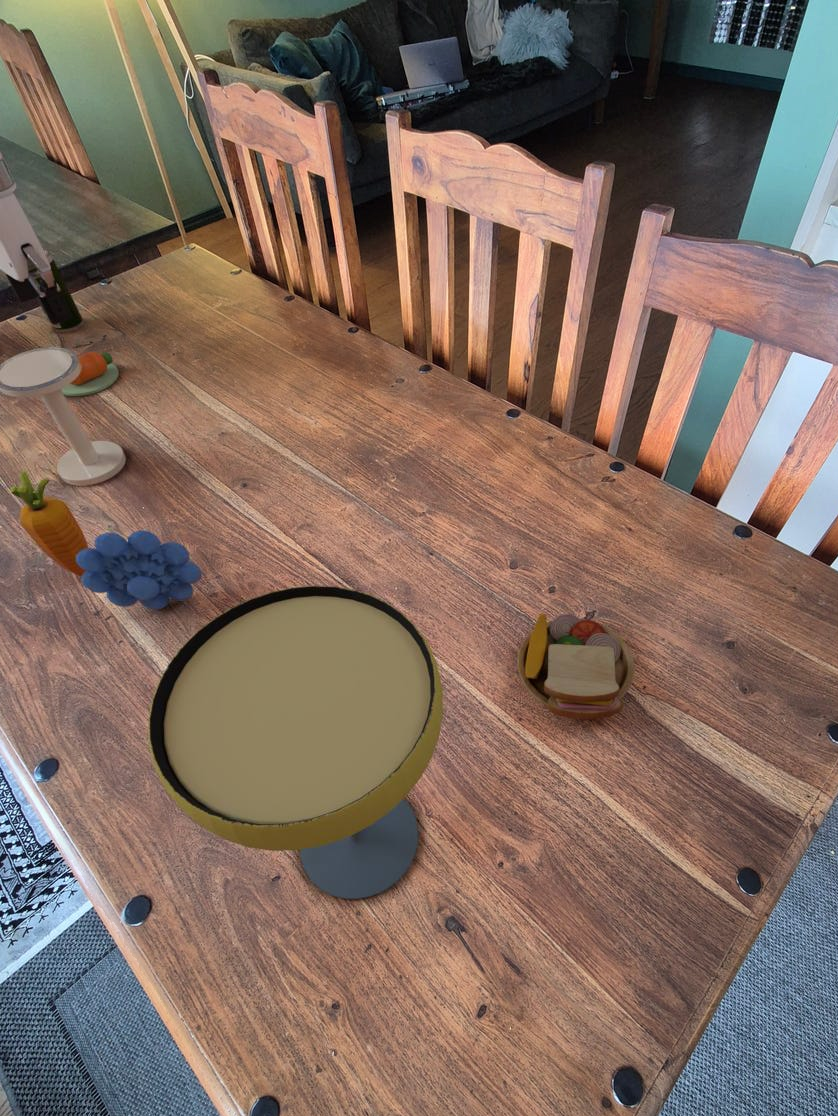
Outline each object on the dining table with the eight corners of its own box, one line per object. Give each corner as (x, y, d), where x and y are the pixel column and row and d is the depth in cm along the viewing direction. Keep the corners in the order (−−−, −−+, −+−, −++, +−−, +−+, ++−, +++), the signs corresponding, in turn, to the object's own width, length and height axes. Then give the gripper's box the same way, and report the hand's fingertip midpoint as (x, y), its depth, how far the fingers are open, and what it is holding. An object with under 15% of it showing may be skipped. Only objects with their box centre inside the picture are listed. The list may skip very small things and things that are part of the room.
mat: (43, 381, 109) (41, 378, 108) (99, 356, 113) (98, 353, 113) (73, 403, 104) (71, 401, 104) (130, 377, 109) (128, 374, 108)
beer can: (74, 334, 118) (37, 263, 108) (47, 332, 118) (8, 261, 109) (90, 320, 121) (56, 249, 111) (64, 317, 122) (27, 247, 112)
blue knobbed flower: (113, 648, 75) (57, 576, 65) (109, 606, 78) (56, 532, 69) (217, 617, 77) (178, 543, 68) (208, 578, 81) (170, 502, 71)
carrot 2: (70, 391, 107) (71, 385, 104) (54, 370, 106) (55, 363, 103) (117, 370, 111) (120, 363, 108) (102, 349, 109) (105, 342, 106)
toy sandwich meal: (637, 634, 75) (644, 607, 71) (626, 737, 67) (634, 712, 63) (528, 616, 76) (530, 588, 73) (504, 714, 68) (505, 689, 65)
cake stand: (43, 468, 95) (-22, 370, 83) (107, 435, 99) (54, 338, 87) (77, 498, 90) (14, 399, 79) (142, 463, 95) (92, 365, 83)
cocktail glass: (240, 945, 55) (98, 833, 35) (279, 751, 66) (188, 583, 46) (456, 943, 55) (435, 830, 35) (459, 749, 66) (445, 580, 46)
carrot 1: (76, 562, 83) (7, 464, 71) (115, 562, 83) (52, 464, 71) (60, 591, 80) (-16, 494, 68) (100, 592, 80) (31, 495, 68)
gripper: (-79, 168, 88) (-5, 299, 101) (-21, 204, 81) (50, 339, 95) (-22, 154, 91) (42, 282, 105) (39, 187, 84) (99, 320, 98)
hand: (46, 309), depth 100 cm, fingers open, 9 cm apart
